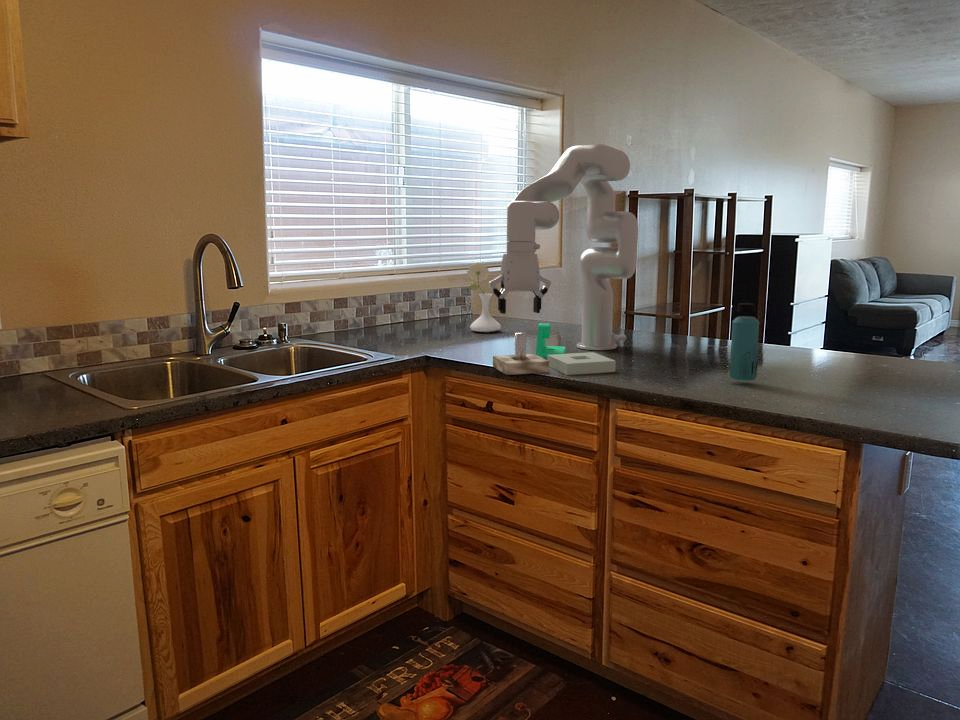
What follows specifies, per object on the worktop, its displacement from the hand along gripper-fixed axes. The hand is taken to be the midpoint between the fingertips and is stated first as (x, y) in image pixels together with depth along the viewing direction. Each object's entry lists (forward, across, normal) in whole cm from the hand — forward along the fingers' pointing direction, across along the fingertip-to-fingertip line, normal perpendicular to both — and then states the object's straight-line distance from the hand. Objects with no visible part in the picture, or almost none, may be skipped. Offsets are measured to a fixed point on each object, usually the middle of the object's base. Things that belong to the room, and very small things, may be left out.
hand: (519, 312), depth 201 cm
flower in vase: (+15, -12, -72) cm, 74 cm away
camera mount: (+16, -15, -15) cm, 26 cm away
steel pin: (+16, -1, 0) cm, 16 cm away
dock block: (+15, -17, +4) cm, 23 cm away
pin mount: (+16, -1, 0) cm, 16 cm away
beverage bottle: (+15, -47, +34) cm, 59 cm away
